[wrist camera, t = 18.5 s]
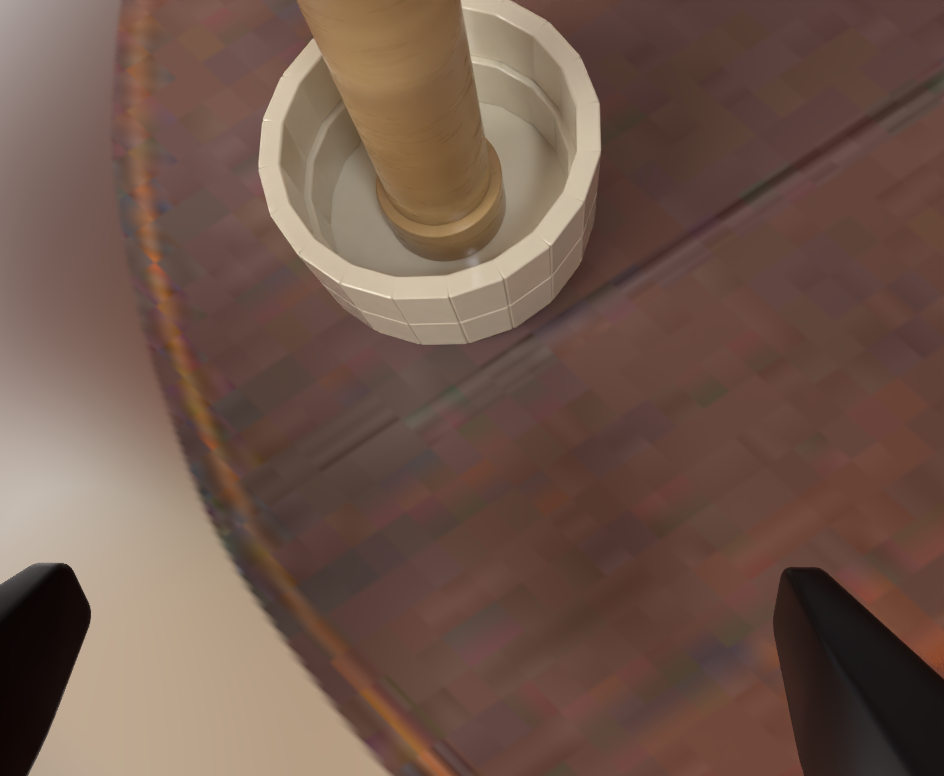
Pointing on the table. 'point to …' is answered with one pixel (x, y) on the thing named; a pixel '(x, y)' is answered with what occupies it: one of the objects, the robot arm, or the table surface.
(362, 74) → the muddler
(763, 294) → the table surface
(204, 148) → the table surface
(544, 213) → the bowl
